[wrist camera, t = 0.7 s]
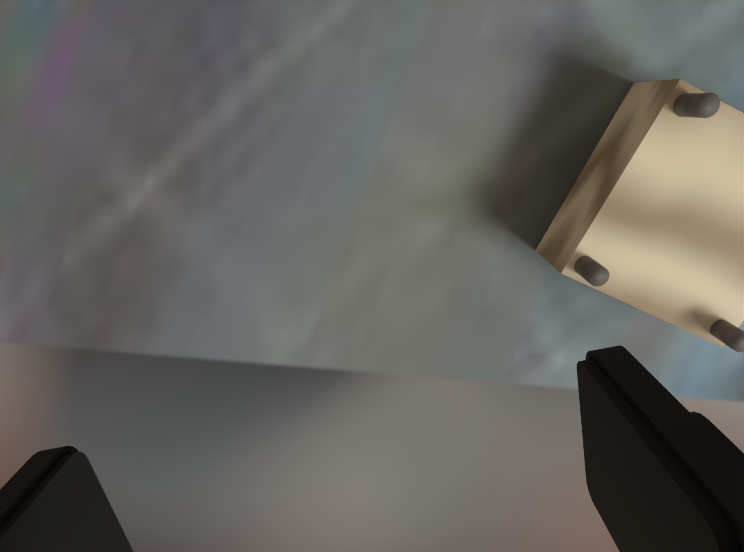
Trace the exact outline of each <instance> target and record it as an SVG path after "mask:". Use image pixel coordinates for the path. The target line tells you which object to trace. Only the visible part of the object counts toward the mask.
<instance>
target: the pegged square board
mask: <svg viewBox="0 0 744 552" xmlns="http://www.w3.org/2000/svg"><path fill="white" fill-rule="evenodd" d="M536 251H537V252H538V253H539V254H540V255H541V256H542V257H544V258H545V259H546V260H547V261H548V262H549V263H550V264H551V265H552V266H554V267H555V268H556V269H557V270H558V271H559V272H560V273H561V274H564V275H566V276H568V277H570V278H572V279H575V280H577V281H579V282H581V283H583V284H585V285H588V286H590V287H592V288H594V289H596V290H599V291H601V292H603V293H605V294H607V295H610V296H612V297H614V298H616V299H618V300H620V301H623V302H625V303H627V304H629V305H631V306H634V307H636V308H638V309H640V310H642V311H645V312H647V313H649V314H651V315H653V316H655V317H658V318H660V319H662V320H664V321H666V322H669V323H671V324H673V325H675V326H677V327H680V328H682V329H684V330H686V331H688V332H690V333H693V334H695V335H697V336H699V337H701V338H704V339H706V340H708V341H710V342H712V343H714V344H717V345H719V346H721V347H724V345H725V344H726V345H727V346H729V347H730V348H732V349H733V350H735V351H737V352H743V351H744V331H742V330H741V329H739V328H738V327H739V326H740V324H741V323H742V322H743V321H744V113H742V112H740V111H739V110H737V109H735V108H733V107H731V106H729V105H727V104H726V103H724V102H722V101H720V99H719V97H718V96H717V95H716V94H714V93H705V92H703V91H702V90H700V89H698V88H696V87H694V86H692V85H690V84H689V83H687V82H685V81H683V80H681V79H673V80H660V81H647V82H634V83H633V84H632V86H631V88H630V90H629V91H628V93H627V95H626V96H625V98H624V100H623V101H622V103H621V105H620V107H619V108H618V110H617V112H616V113H615V115H614V117H613V119H612V120H611V122H610V124H609V125H608V127H607V129H606V131H605V132H604V134H603V136H602V137H601V139H600V141H599V143H598V144H597V146H596V148H595V149H594V151H593V153H592V154H591V156H590V158H589V160H588V161H587V163H586V165H585V166H584V168H583V170H582V172H581V173H580V175H579V177H578V178H577V180H576V182H575V184H574V185H573V187H572V189H571V190H570V192H569V194H568V195H567V197H566V199H565V201H564V202H563V204H562V206H561V207H560V209H559V211H558V213H557V214H556V216H555V218H554V219H553V221H552V223H551V225H550V226H549V228H548V230H547V231H546V233H545V235H544V236H543V238H542V240H541V242H540V243H539V245H538V247H537V248H536Z"/></svg>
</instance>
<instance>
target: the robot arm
mask: <svg viewBox="0 0 744 552" xmlns="http://www.w3.org/2000/svg"><path fill="white" fill-rule="evenodd" d="M577 377H578V388H579V400H580V412H581V424H582V435H583V447H584V459H585V471H586V481H587V486H588V490H589V493H590V496H591V499H592V501H593V503H594V505H595V507H596V509H597V510H598V512H599V514H600V516H601V518H602V520H603V521H604V523H605V525H606V527H607V529H608V531H609V533H610V534H611V536H612V538H613V540H614V542H615V544H616V545H617V547H618V549H619V551H620V552H744V453H742V451H740V450H739V449H738V448H737V447H736V446H735V445H734V444H733V443H732V442H731V441H730V440H729V439H728V438H727V437H726V436H725V435H724V434H723V433H722V432H721V431H720V430H719V429H718V428H717V427H716V426H715V425H713V424H712V423H711V422H710V421H709V420H708V419H707V418H706V417H704V416H703V415H702V414H700V413H696V412H689V411H688V410H687V409H685V407H684V406H683V405H682V404H681V403H680V402H679V401H678V400H677V399H676V398H675V397H674V396H673V395H672V394H671V393H670V392H669V391H668V390H667V389H666V388H665V387H664V386H663V385H662V384H661V383H660V382H659V381H658V380H657V379H656V378H655V377H653V376H652V375H651V374H650V373H649V372H648V371H647V370H646V369H645V368H644V367H643V366H642V365H641V364H640V363H639V362H638V361H637V360H636V359H635V358H634V357H633V356H632V355H631V354H630V353H629V352H628V351H627V350H626V349H625V348H624V347H623V346H615V347H609V348H604V349H598V350H593V351H588V352H587V354H586V360H584V361H579V362H578V363H577ZM0 552H133V550H132V548H131V546H130V544H129V542H128V540H127V538H126V536H125V534H124V531H123V529H122V527H121V525H120V523H119V521H118V519H117V517H116V515H115V513H114V511H113V509H112V507H111V505H110V503H109V501H108V499H107V497H106V495H105V493H104V491H103V489H102V487H101V485H100V483H99V480H98V478H97V476H96V475H95V472H94V470H93V468H92V466H91V464H90V462H89V460H88V458H87V457H86V455H85V454H83V453H82V452H78V450H77V449H76V448H74V447H72V446H65V447H59V448H54V449H48V450H44V451H39V452H37V453H36V454H34V455H33V456H32V457H31V458H30V459H29V460H28V461H27V462H26V463H25V464H24V465H23V466H22V467H21V468H20V469H19V470H18V471H17V473H16V474H15V475H14V476H13V477H12V478H11V479H10V480H9V481H8V482H7V483H6V484H5V485H4V486H3V487H2V488H1V489H0Z"/></svg>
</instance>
